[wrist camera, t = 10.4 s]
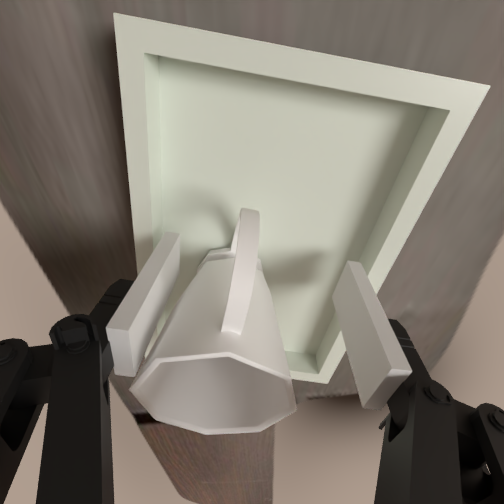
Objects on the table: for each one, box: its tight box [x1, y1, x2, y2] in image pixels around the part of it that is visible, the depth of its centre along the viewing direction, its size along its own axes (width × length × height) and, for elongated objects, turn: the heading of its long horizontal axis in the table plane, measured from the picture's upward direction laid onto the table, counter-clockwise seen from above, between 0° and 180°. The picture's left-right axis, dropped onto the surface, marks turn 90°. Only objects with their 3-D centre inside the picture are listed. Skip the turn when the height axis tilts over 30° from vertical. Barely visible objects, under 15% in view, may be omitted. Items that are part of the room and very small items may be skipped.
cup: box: [129, 207, 297, 435], centre depth 14 cm, size 7×10×8 cm
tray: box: [113, 13, 490, 384], centre depth 17 cm, size 20×14×2 cm
